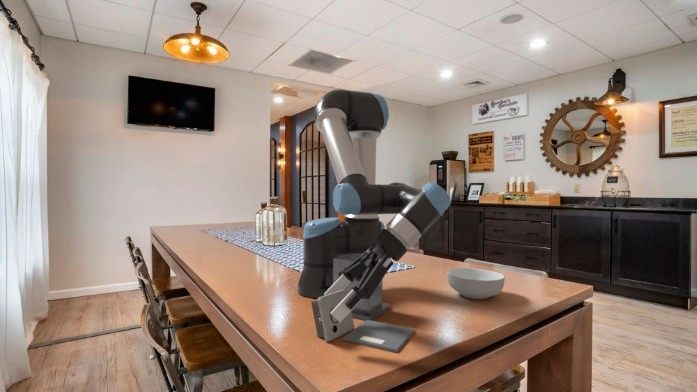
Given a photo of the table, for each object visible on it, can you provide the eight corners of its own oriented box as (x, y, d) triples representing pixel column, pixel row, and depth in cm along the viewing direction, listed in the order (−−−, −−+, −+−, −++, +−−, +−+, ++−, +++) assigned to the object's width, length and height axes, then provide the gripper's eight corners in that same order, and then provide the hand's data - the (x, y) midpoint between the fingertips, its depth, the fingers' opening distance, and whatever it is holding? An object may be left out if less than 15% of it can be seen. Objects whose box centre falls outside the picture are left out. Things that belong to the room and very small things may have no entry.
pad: (343, 340, 75) (343, 337, 75) (367, 322, 85) (367, 319, 85) (396, 352, 69) (396, 349, 69) (414, 331, 80) (414, 328, 80)
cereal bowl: (477, 307, 97) (477, 282, 97) (435, 292, 112) (436, 270, 112) (516, 299, 105) (516, 275, 105) (473, 286, 120) (473, 265, 120)
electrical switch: (327, 343, 73) (325, 299, 74) (310, 339, 76) (308, 296, 77) (355, 330, 81) (352, 289, 81) (338, 326, 84) (335, 287, 84)
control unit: (324, 312, 92) (324, 259, 92) (345, 299, 103) (346, 252, 103) (372, 321, 86) (372, 264, 86) (390, 307, 96) (390, 257, 96)
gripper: (428, 259, 68) (353, 341, 66) (391, 242, 93) (335, 301, 90) (402, 233, 67) (325, 315, 65) (372, 222, 92) (315, 281, 89)
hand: (331, 307), depth 78 cm, fingers open, 13 cm apart
